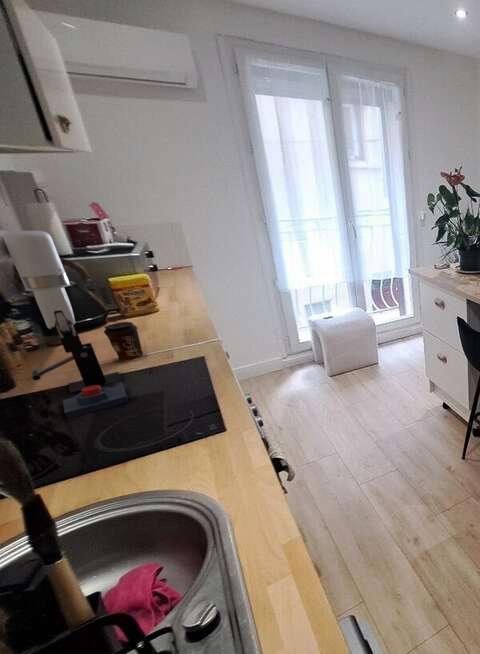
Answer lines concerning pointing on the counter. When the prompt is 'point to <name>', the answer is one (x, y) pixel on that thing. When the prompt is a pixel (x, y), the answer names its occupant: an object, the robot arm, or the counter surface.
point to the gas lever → (51, 367)
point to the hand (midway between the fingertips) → (74, 348)
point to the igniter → (94, 401)
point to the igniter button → (91, 390)
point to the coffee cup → (124, 340)
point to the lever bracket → (90, 370)
